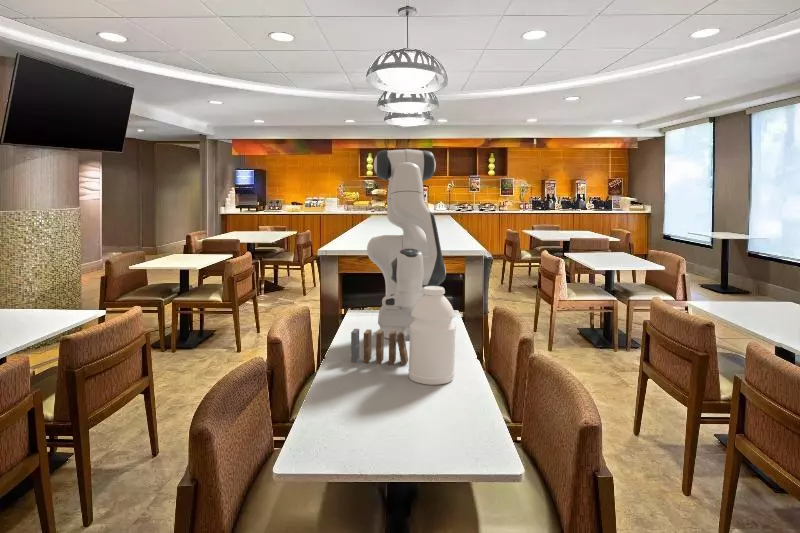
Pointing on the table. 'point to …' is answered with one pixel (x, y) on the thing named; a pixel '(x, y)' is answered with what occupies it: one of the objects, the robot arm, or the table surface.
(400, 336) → the domino
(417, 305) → the bottle
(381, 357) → the domino
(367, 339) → the domino
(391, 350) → the domino
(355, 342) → the end domino
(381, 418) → the table surface
